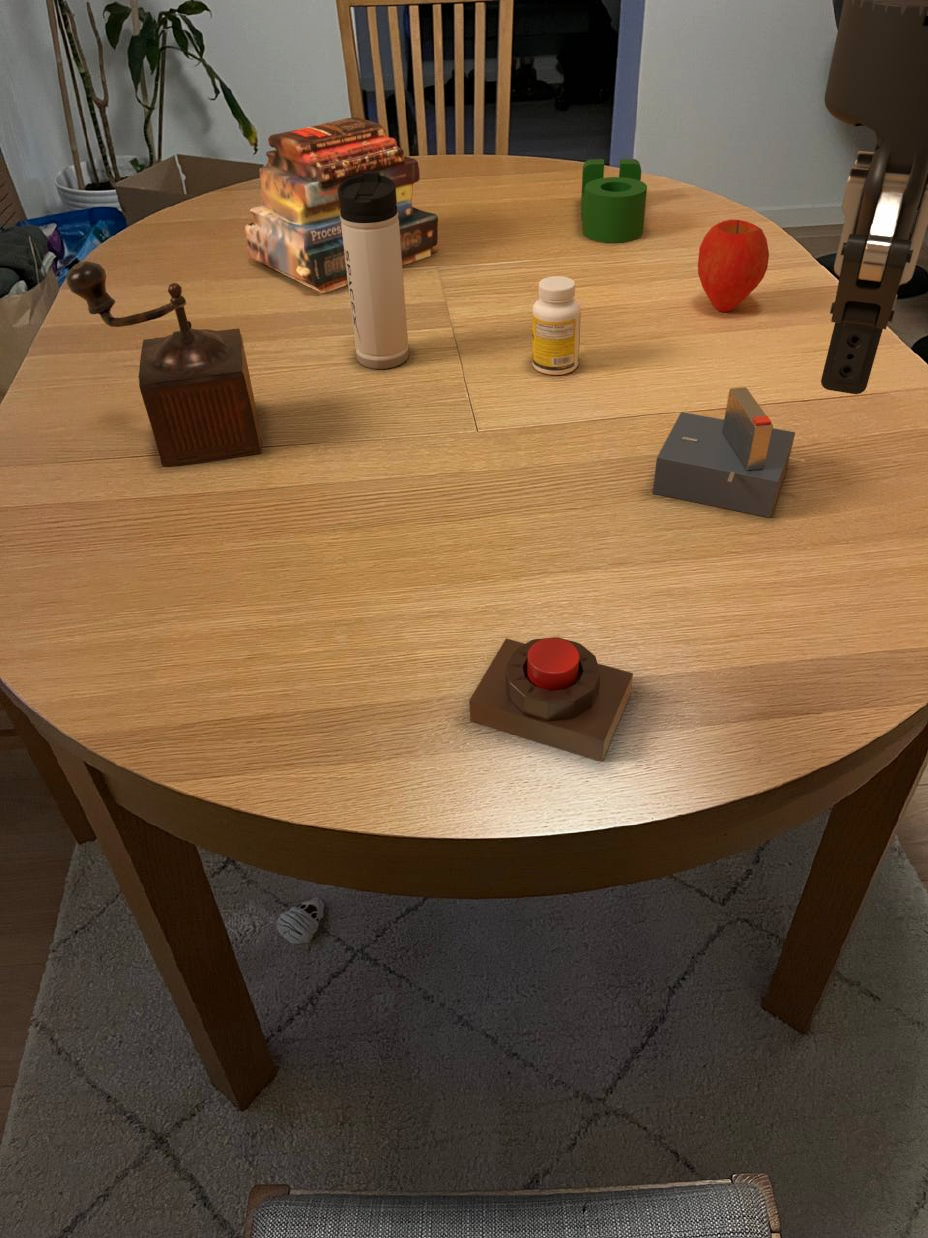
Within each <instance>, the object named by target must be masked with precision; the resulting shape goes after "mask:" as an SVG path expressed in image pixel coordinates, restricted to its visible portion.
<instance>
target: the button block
mask: <svg viewBox="0 0 928 1238" xmlns="http://www.w3.org/2000/svg"><path fill="white" fill-rule="evenodd" d="M547 638H548V637H542V638H534V639H531V640H529V641H527V642H526V643H525V642H522V641H517V640H513V639H510V638H505V639H504V641H503V643H502V645H500V648H499V649H498V651H497V652H496V654H495V656H494V658H493V659H492V661H491V662H490V664H489V666H488V668H487V670H486V671H485V672H484V675H483V676H482V678H481V679H480V681H479V682H478V685H477V686H476V688H475V689H474V691H473V693H472V695H471V697H470V699H469V700H468V703H469V705H468V707H469V721H470V722H473V723H476V724H479V725H483V726H485V727H489V728H492V729H495V730H499V731H502V732H505V733H507V734H511V735H514V736H518V737H521V738H524V739H527V740H530V741H535V742H537V743H540V744H544V745H548V746H551V747H554V748H557V749H560V750H563V751H567V752H570V753H573V754H576V755H579V756H583V757H586V758H590V759H592V760H596V761H599V762H603V761H604V758H605V756H606V754H607V752H608V749H609V747H610V744H611V741H612V740H613V737H614V735H615V732H616V730H617V727H618V725H619V722H620V721H621V718H622V715H623V713H624V710H625V708H626V706H627V704H628V702H629V699H630V697H631V694H632V686H633V679H634V673H633V672H630V671H627V670H624V669H620V668H616V667H612V666H608V665H605V664H602V663H598V660H597V657H596V655H595V654H594V653H592V652H591V651H590V650H589V649H587V647H585V646H584V645H583V644H581V643H580V642H577V641H573V640H571V639H566V638H562V637H559V636H551V638H558V639H563V640H566V641H568V642H570V643H571V644H573V645H574V646H575V647H576V649H577V650H578V653H579V671H578V677H577V680H576V681H575V682H574V684H572V685H571V686H570V687H568V688H566V689H562V690H553V691H550V690H546V689H543V688H539V687H537V686H536V685H534V684H533V683H532V682H531V680H530V679H529V677H528V674H527V662H528V651H529V649H530V648H531V646H532V645H533V644H535V643H536V642H538V641H540V640H543V639H547Z"/></svg>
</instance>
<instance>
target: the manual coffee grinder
mask: <svg viewBox="0 0 928 1238" xmlns="http://www.w3.org/2000/svg"><path fill="white" fill-rule="evenodd" d="M65 280H66V284H67V287H68V288H69V290H70V291H71V293H73V294H75V295H77V296H78V297H80V298H81V299H83V300H84V301H85V302H86V304H87V307H88V308H87V310H88V313H89V314H90V315H99V316H100V319H101V320H102V322H103V323H104V324H105V325H107V326H110V327H112V328H113V327H114V328H122V327H129V326H134V325H138V324H142V323H146V322H149V321H152V320H153V321H154V320H156V319H159V318H163V317H164V316H166V315H168V314H169V313H171V312H173V311H174V312H175V316H176V319H177V323H178V327H179V330H176V331H173V332H172V334H170V335H167V336H161V337H153V338H145V339H143V341H142V346H141V349H140V360H139V368H138V369H139V370H138V386H139V390H140V394H141V397H142V400H143V404H144V407H145V411H146V415H147V417H148V420H149V424H150V427H151V431H152V434H153V437H154V441H155V444H156V449H157V452H158V455H159V460H160V464H161V465H162V467H178V466H179V467H180V466H187V465H195V464H201V463H207V462H215V461H221V460H227V459H233V458H240V457H245V456H250V455H255V454H261V452H262V443H263V442H262V435H261V433H262V432H261V424H260V414H259V409H258V408H257V406H256V401H255V397H254V391H253V386H252V381H251V375H250V370H249V365H248V361H247V355H246V350H245V346H244V339H243V335H242V333H241V329H240V328H238V327H237V328H230V329H222V330H214V329H208V328H207V329H203V328H201V329H198V328H197V329H196V328H192V323H191V321H189V320H188V318H187V317H188V316H187V313H186V309H185V306H186V305H187V300H186V298H185V297H184V296H183V295H182V293H183V290H182V289H183V288H182V286H181V285H180V284H179V283H177V282H172V283H170V284H169V285H168V288H167V293H168V294H169V296H170V297H171V298H170V299H169V303H167V304H164V305H162V306H160V307H157V308H154V309H151V310H146V311H143V312H139V313H135V314H131V315H128V316H123V317H122V316H121V317H115V316H113V315H112V314H111V311H112V308H113V306H114V305H115V304H116V300H115V299H114V298H113V297H111V295H110V294H109V293H108V292H107V287H106V282H107V274H106V270H105V269H104V268H103V266H102V265H100V264H99V263H96V262H93V261H88V260H83V261H81V262H78V263H75V264H74V265H73V266H72V267H71V268H70V269H69V271H68V272H67V273H66V275H65Z"/></svg>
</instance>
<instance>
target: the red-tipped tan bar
mask: <svg viewBox="0 0 928 1238" xmlns="http://www.w3.org/2000/svg"><path fill="white" fill-rule="evenodd" d="M723 419H724V424H723V430H722V431H723V433H724V435H725V436H726V438H727V439H728V441H729V443H730V444H731V446H732V447H733V449H734V451H735V452H736V454H737V455H738V457H739V459H740V460H741V462H742V463H743V465H744V467H745V468H746V470H758V469H764V466H765V461H766V456H767V452H768V447H769V442H770V438H771V433H772V428H774V424H773V422H772V421H771V418H769V416H768V415H766V413H765V411H764V410H763V409H762V407H761V406H760V404H758V401H757V400H756V399H755V397H754V396H753V395H752V393H751V392H750V390H749V389H748V388H747V387H746V386H744V387H743V386H742V387H731V388H729V390H728V396H727V402H726V407H725V413H724V418H723Z"/></svg>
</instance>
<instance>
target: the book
mask: <svg viewBox="0 0 928 1238" xmlns="http://www.w3.org/2000/svg"><path fill="white" fill-rule="evenodd" d="M267 141H268V145H269V147H271V148H274V150H269V151H266V152H265V156H266V157H267V163H266V165H264V166H261V167H260V168H259V171H258V173H259V180H260V187H261V190H260V200H261V205H259V206H255V207H251V208H250V209H249V211H250V214H251V215H252V216H253V222H251V223H248V224H246V225H245V226H244V233H245V239H246V240H245V241H246V251H247V255H248V257H249V258H251V259H252V260H255V261H257V262H260V263H261V264H263V265H265V266H267V267H269V268H271V269H273V270H275V271H277V272H279V273H280V274H282V275H284V276H286V277H288V278H290V279H292V280H294V281H296V282H298V283H300V284H302V285H303V286H305V287H307V288H310V289H313V290H314V291H316V292H318V293H321V294H326V293H329V292H332V291H335V290H337V289H340V288H343V287H346V286H348V279H347V270H346V262H345V253H344V245H343V236H342V227H341V219H340V205H339V197H338V187H339V186H340V184H341V183H342V182H344V181H345V180H347V179H350V178H352V177H356V176H361V175H363V172H379V174H380V175H382V176H386V177H388V178H390V179H392V180H393V181H394V182H395V185H396V198H397V203H396V205H397V210H398V219H399V230H400V243H401V256H402V267H403V266H405V265H408V264H411V263H414V262H417V261H419V260H422V259H425V258H428V257H431V256H432V249H433V248H434V247H436V246H437V245H438V243H439V236H438V232H439V231H438V228H439V226H438V225H439V216H438V215H437V214H436V213H432V212H428V211H425V210H421V209H419V208H418V207H417V208H416V207H414V206H413V203H412V202H413V201H412V200H413V194H414V187H413V186H414V184H415V183H418V182H419V181H420V179H421V178H420V176H421V175H420V167H419V162H418V161H417V159H415V158H413V157H409V156H405V152H404V149H403V148H402V147H399V146H398V144H397V141H396V139H395V138H394V137H389V135H388V134H387V133H386V128H385V126H383V125H382V124H380V123H377V122H374V121H372V120H368V119H364V118H361V117H354V116H353V117H347V118H342V119H338V120H334V121H330V122H329V121H328V122H324V123H320V124H316V125H312V126H308V127H302V128H298V129H293V130H289V131H283V132H280V133H274V134H270V136H268V139H267Z"/></svg>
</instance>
